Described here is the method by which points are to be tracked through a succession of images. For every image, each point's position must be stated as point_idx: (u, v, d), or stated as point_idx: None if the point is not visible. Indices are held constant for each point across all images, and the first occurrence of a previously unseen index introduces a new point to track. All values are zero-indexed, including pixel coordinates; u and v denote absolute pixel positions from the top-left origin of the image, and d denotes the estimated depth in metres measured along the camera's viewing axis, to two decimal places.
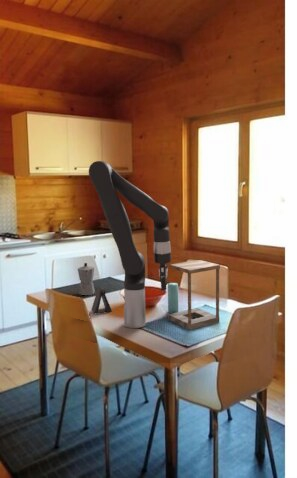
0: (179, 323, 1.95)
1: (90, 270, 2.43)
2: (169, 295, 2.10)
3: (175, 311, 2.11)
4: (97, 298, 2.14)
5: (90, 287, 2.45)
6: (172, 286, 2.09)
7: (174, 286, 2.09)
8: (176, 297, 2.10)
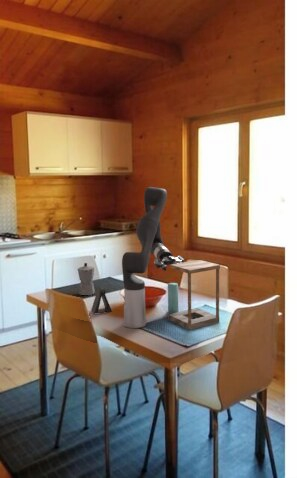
0: (179, 323, 1.95)
1: (90, 270, 2.43)
2: (169, 295, 2.10)
3: (175, 311, 2.11)
4: (97, 298, 2.14)
5: (90, 287, 2.45)
6: (172, 286, 2.09)
7: (174, 286, 2.09)
8: (176, 297, 2.10)
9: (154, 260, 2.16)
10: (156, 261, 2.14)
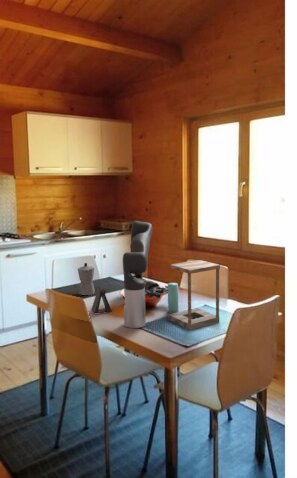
0: (179, 323, 1.95)
1: (90, 270, 2.43)
2: (169, 295, 2.10)
3: (175, 311, 2.11)
4: (97, 298, 2.14)
5: (90, 287, 2.45)
6: (172, 286, 2.09)
7: (174, 286, 2.09)
8: (176, 297, 2.10)
9: (145, 290, 2.20)
10: (148, 291, 2.19)
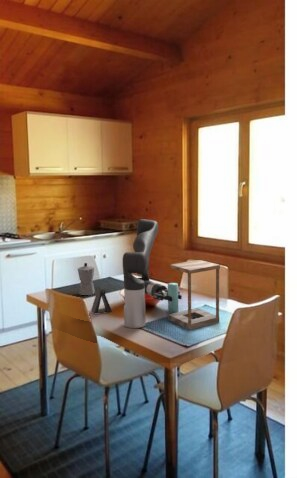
0: (179, 323, 1.95)
1: (90, 270, 2.43)
2: (169, 295, 2.10)
3: (175, 311, 2.11)
4: (97, 298, 2.14)
5: (90, 287, 2.45)
6: (172, 286, 2.09)
7: (174, 286, 2.09)
8: (176, 297, 2.10)
9: (154, 294, 2.14)
10: (158, 294, 2.13)
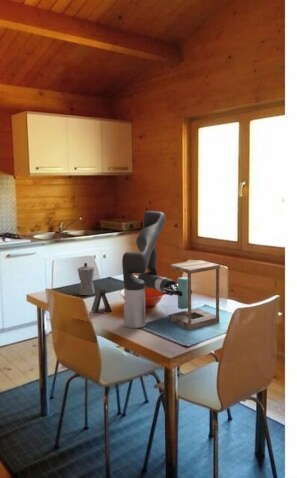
0: (179, 323, 1.95)
1: (90, 270, 2.43)
2: (179, 290, 2.03)
3: (185, 306, 2.04)
4: (97, 298, 2.14)
5: (90, 287, 2.45)
6: (182, 280, 2.01)
7: (184, 280, 2.01)
8: (186, 292, 2.03)
9: (163, 289, 2.06)
10: (167, 289, 2.05)
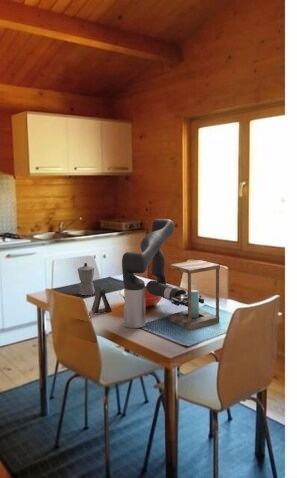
0: (179, 323, 1.95)
1: (90, 270, 2.43)
2: None
3: None
4: (97, 298, 2.14)
5: (90, 287, 2.45)
6: (192, 293, 1.96)
7: (194, 293, 1.96)
8: (197, 305, 1.97)
9: (171, 298, 2.01)
10: (175, 299, 2.00)
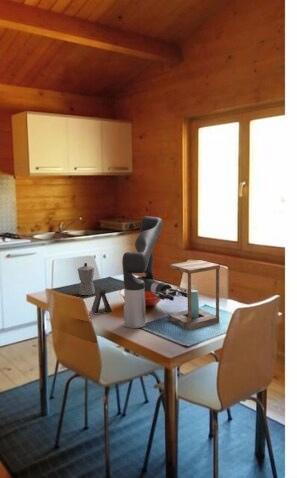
0: (179, 323, 1.95)
1: (90, 270, 2.43)
2: None
3: None
4: (97, 298, 2.14)
5: (90, 287, 2.45)
6: (192, 293, 1.96)
7: (194, 293, 1.96)
8: (196, 305, 1.97)
9: (157, 292, 2.11)
10: (160, 293, 2.10)
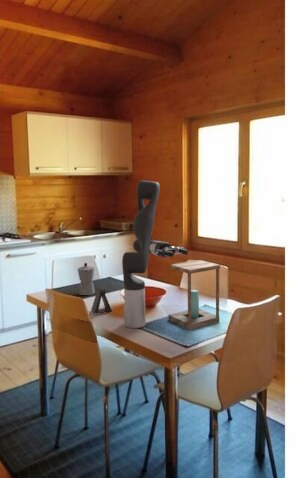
0: (179, 323, 1.95)
1: (90, 270, 2.43)
2: None
3: None
4: (97, 298, 2.14)
5: (90, 287, 2.45)
6: (193, 293, 1.96)
7: (195, 293, 1.96)
8: (197, 305, 1.97)
9: (156, 250, 2.08)
10: (159, 250, 2.06)
